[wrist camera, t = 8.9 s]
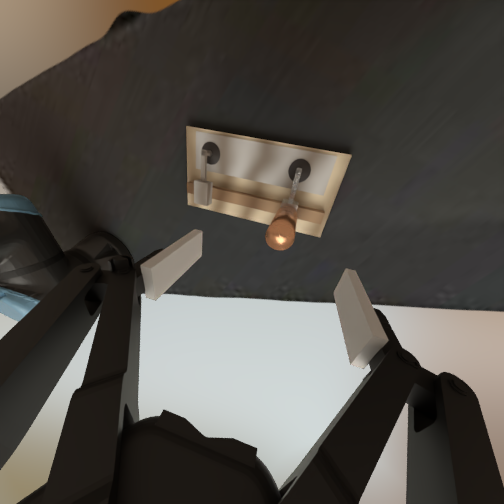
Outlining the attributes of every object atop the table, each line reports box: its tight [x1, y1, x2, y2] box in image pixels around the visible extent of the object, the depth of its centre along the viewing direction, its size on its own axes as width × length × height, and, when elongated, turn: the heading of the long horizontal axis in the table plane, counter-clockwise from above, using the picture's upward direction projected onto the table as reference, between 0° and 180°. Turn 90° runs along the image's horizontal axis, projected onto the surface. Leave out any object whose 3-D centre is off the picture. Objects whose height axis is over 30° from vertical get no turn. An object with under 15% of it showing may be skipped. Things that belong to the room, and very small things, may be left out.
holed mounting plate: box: [186, 126, 352, 237], centre depth 32 cm, size 28×14×5 cm, turn 81°
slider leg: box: [265, 168, 302, 250], centre depth 26 cm, size 3×9×13 cm, turn 171°
